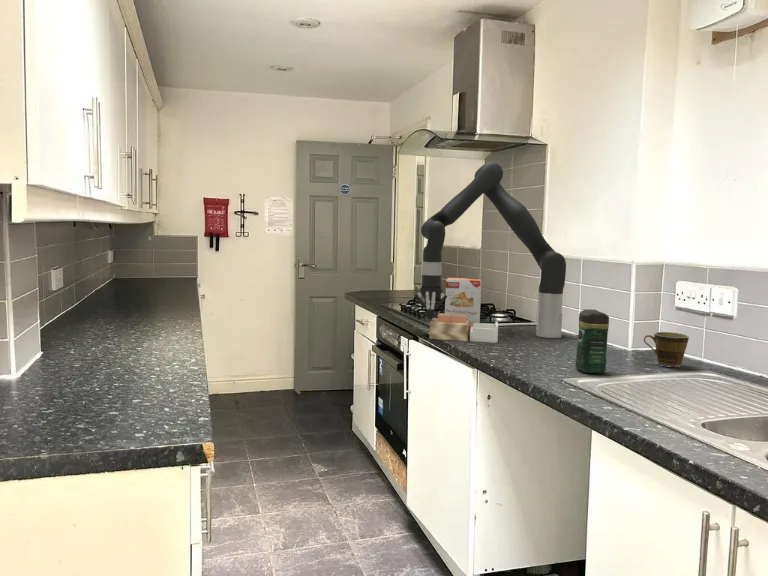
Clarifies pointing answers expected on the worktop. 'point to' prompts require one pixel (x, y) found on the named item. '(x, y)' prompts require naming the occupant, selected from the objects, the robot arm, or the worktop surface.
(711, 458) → the worktop surface
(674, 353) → the ceramic cup
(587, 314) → the coffee jar
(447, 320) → the tile
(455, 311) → the cracker box
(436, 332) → the platform
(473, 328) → the bin
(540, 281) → the robot arm
